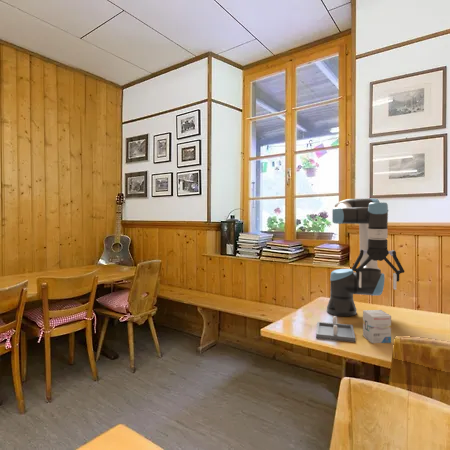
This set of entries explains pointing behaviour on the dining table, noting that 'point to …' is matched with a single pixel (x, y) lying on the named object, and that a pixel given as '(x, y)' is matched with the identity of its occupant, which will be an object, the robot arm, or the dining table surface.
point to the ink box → (377, 326)
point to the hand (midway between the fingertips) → (377, 288)
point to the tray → (341, 332)
